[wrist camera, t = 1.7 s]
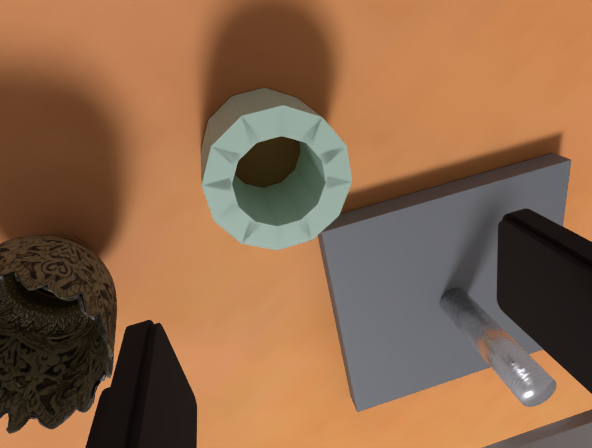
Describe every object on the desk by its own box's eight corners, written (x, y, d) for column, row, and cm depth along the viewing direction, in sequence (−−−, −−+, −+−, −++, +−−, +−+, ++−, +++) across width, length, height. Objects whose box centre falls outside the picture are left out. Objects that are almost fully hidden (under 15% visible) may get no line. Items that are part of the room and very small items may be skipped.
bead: (186, 107, 20) (183, 130, 16) (309, 76, 21) (338, 90, 17) (222, 218, 23) (228, 264, 19) (328, 189, 24) (358, 226, 20)
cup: (23, 169, 20) (-70, 248, 13) (161, 238, 23) (146, 332, 16) (-39, 281, 22) (-150, 405, 15) (97, 331, 25) (59, 453, 18)
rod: (438, 292, 27) (522, 385, 20) (466, 283, 28) (558, 373, 21) (439, 315, 28) (519, 411, 21) (466, 306, 29) (554, 399, 22)
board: (314, 221, 25) (321, 232, 23) (552, 152, 26) (571, 159, 25) (350, 396, 32) (357, 412, 31) (533, 335, 34) (547, 347, 32)
